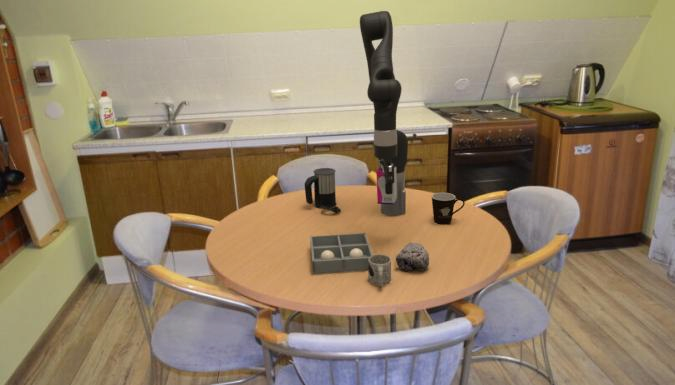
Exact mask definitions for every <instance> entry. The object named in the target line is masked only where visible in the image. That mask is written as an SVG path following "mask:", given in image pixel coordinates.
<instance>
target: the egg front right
mask: <svg viewBox="0 0 675 385" xmlns="http://www.w3.org/2000/svg"><path fill="white" fill-rule="evenodd" d="M334 258H335V257H334V254H333V252H332V251H329V250H326V251H324V252H322V254H321V260H331V259H334Z"/></svg>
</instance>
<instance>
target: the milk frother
mask: <svg viewBox="0 0 675 385" xmlns="http://www.w3.org/2000/svg"><path fill="white" fill-rule="evenodd" d="M336 172H337V171H336V169H334V168H331V167H321V168H316V169H314V170H313V175H311V176H309V177H307V178H306V180H305V182H304V193H305V201H306V203H307V204H309V205H312V204H314V206H315V207H316V208H318V209H324V210H328V211H331V212H332V213H333V212H334V213H335V214H338V213H340V212H342V209H341V208H340V207H339V206H338V204H337V199H336V197H337V196H336ZM312 186H313V188H314V189H312ZM313 190H314V194H313ZM313 195H314V197H313ZM313 198H314V200H313ZM313 202H314V203H313Z"/></svg>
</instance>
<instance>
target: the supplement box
mask: <svg viewBox="0 0 675 385" xmlns="http://www.w3.org/2000/svg"><path fill="white" fill-rule="evenodd" d="M384 173H385V174H386V172H385V171H384ZM388 180H391V177H388ZM376 196H377V197H376V198H377V199H376V200H377V204H378V205H381V204H392V205H394V204H395V202H396V200H397V177H396V167H394V183H392V194H386V193H385V178H384V177H383V175H382V169H381V168H379V167H378V169H377V170H376Z"/></svg>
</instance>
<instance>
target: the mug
mask: <svg viewBox="0 0 675 385" xmlns="http://www.w3.org/2000/svg"><path fill="white" fill-rule="evenodd" d="M367 271H368V272H367V273H368V281H369V283H371V284H372V285H375V286H378V287H383V286H384V285H387V284H389V283H390V282H391V281H392V258H391V257H390V256H389V255H387V254H381V253H379V254H377V253H376V254H373V255H372V256H370V257H369V259H368V270H367Z"/></svg>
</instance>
